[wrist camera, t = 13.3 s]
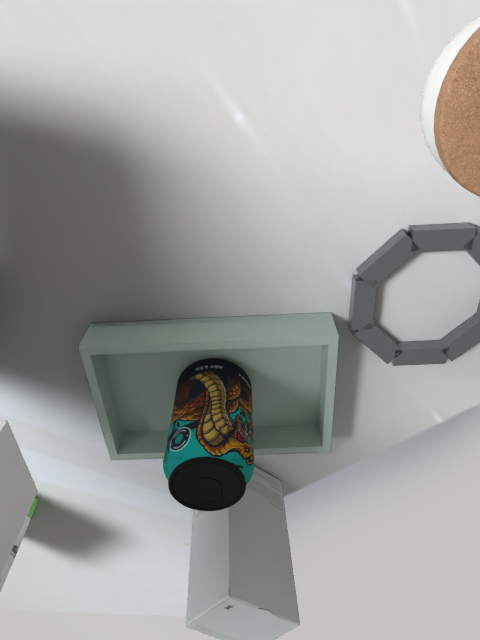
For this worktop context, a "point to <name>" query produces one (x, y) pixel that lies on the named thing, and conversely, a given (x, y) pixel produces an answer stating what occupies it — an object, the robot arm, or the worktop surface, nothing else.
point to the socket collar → (390, 259)
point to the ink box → (17, 543)
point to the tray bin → (223, 343)
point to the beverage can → (210, 436)
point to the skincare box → (243, 567)
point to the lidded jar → (455, 107)
